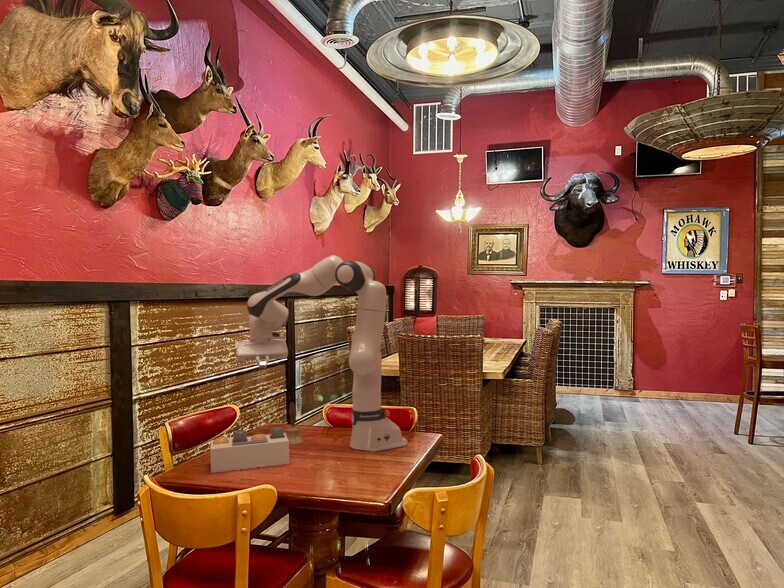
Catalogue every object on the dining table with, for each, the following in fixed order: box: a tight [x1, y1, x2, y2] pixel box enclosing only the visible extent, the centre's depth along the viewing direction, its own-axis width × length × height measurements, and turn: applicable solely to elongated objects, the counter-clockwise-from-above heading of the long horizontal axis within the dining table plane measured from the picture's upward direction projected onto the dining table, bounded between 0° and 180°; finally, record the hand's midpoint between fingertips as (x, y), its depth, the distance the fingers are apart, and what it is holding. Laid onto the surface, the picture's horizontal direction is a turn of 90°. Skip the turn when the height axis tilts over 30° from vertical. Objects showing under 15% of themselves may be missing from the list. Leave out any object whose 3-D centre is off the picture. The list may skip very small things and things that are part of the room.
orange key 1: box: [213, 437, 228, 445], centre depth 190 cm, size 4×4×6 cm
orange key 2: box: [252, 433, 266, 440], centre depth 194 cm, size 4×4×6 cm
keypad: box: [209, 432, 290, 474], centre depth 191 cm, size 26×12×8 cm, turn 107°
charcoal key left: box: [270, 426, 284, 439], centre depth 196 cm, size 4×4×6 cm
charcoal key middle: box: [232, 429, 247, 442], centre depth 192 cm, size 4×4×6 cm
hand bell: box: [286, 402, 304, 446], centre depth 218 cm, size 8×8×16 cm
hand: (263, 366), depth 212 cm, fingers closed
